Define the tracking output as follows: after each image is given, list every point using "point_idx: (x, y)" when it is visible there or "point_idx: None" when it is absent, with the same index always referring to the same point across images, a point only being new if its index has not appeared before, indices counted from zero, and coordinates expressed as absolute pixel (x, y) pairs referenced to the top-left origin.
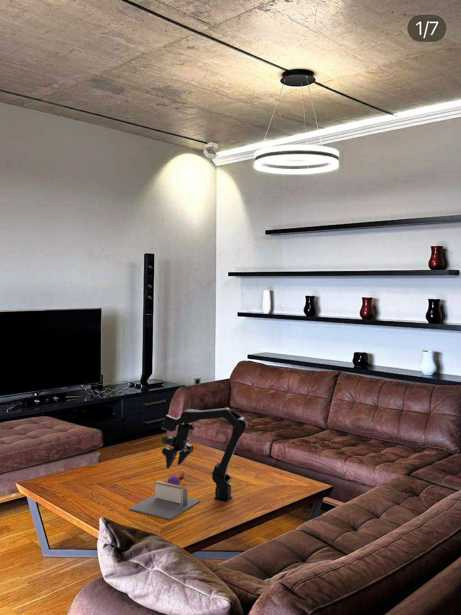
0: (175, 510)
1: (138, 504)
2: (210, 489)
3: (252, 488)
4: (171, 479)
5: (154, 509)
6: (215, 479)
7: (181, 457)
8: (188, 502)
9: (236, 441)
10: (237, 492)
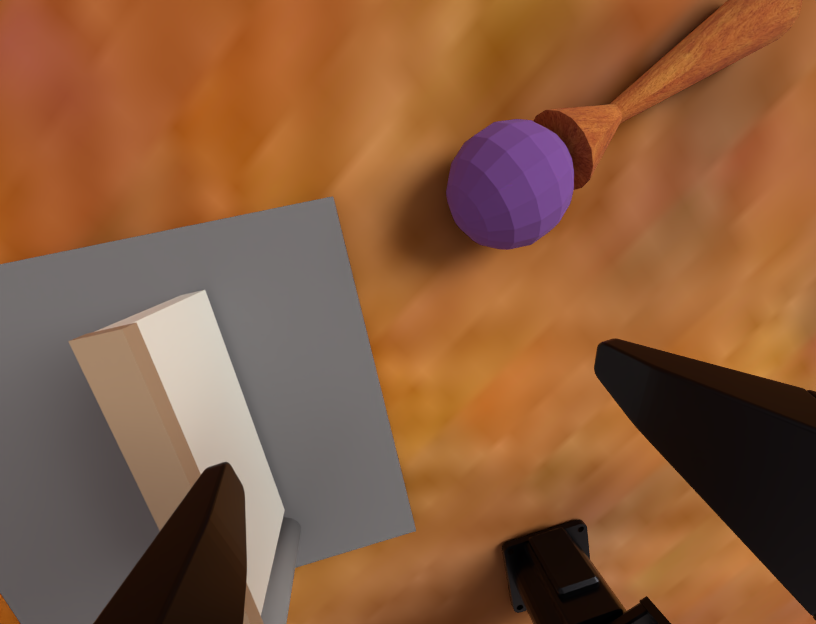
0: None
1: None
2: (616, 414)
3: (748, 549)
4: (479, 200)
5: (28, 468)
6: None
7: (768, 488)
8: (330, 514)
9: None
10: (660, 544)
